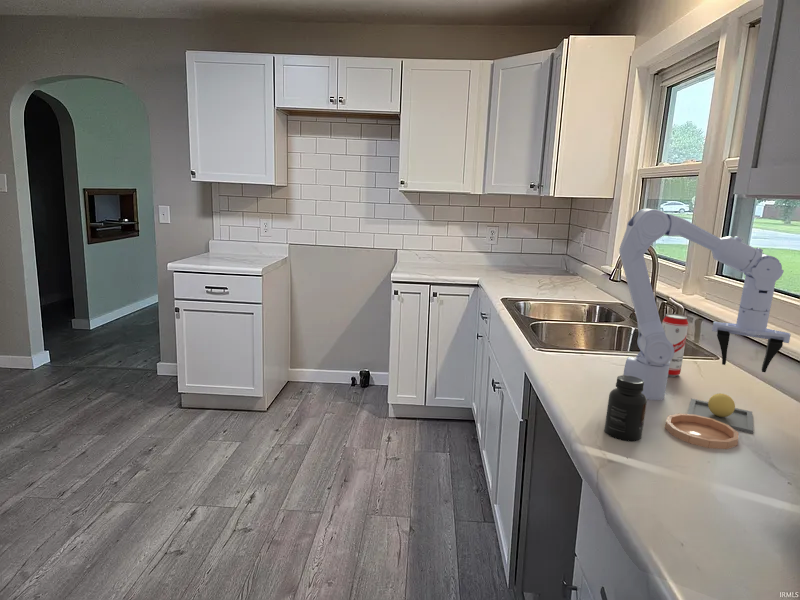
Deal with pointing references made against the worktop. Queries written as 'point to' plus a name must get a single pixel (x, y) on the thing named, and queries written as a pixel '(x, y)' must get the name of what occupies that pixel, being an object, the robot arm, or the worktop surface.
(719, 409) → the ball
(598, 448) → the worktop surface
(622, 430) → the supplement bottle
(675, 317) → the beer can
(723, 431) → the bowl
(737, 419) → the tray
